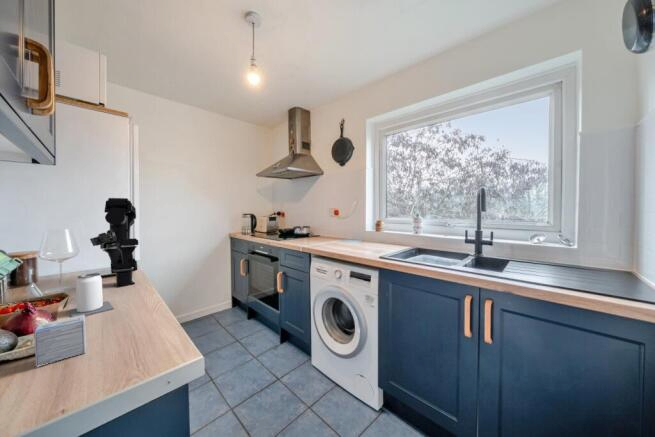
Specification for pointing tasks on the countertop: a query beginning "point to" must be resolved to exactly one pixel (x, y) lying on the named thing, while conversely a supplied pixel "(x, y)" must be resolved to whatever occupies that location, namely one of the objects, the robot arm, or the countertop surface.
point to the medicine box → (60, 339)
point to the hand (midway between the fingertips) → (119, 264)
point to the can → (89, 292)
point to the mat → (105, 307)
